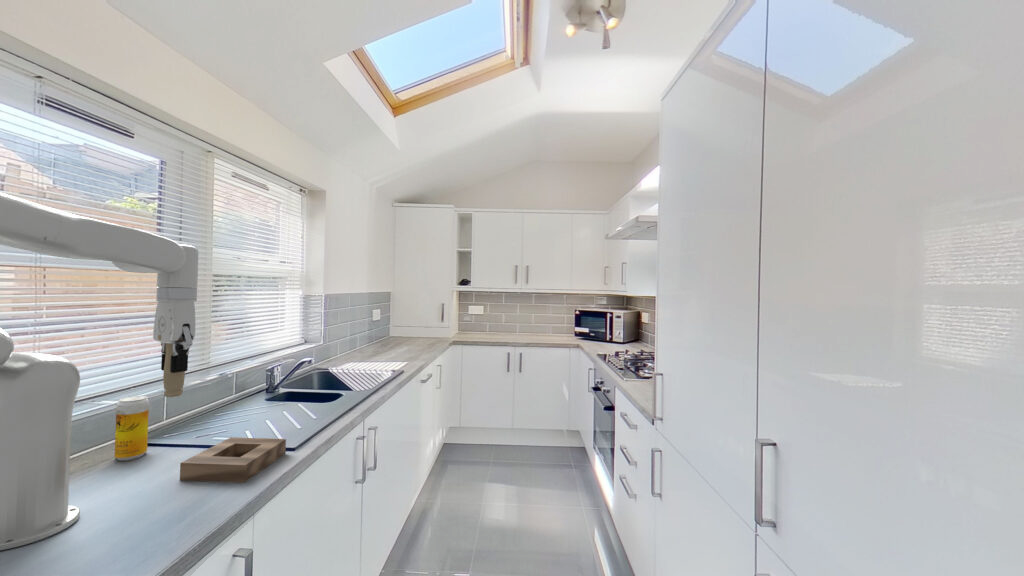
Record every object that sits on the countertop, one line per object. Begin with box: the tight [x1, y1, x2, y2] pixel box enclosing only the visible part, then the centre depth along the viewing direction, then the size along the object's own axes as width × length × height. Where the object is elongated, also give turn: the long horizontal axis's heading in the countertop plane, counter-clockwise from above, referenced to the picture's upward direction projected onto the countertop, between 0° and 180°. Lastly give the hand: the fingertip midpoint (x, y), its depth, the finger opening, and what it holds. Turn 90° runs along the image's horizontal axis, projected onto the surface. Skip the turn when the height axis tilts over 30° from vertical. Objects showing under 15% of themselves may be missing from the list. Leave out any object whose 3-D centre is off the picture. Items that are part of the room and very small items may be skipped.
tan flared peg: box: [158, 334, 191, 398], centre depth 96 cm, size 5×6×15 cm
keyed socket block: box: [179, 436, 287, 483], centre depth 98 cm, size 16×15×4 cm
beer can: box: [114, 395, 150, 461], centre depth 102 cm, size 6×6×15 cm
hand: (174, 369), depth 96 cm, fingers closed on tan flared peg, 3 cm apart
